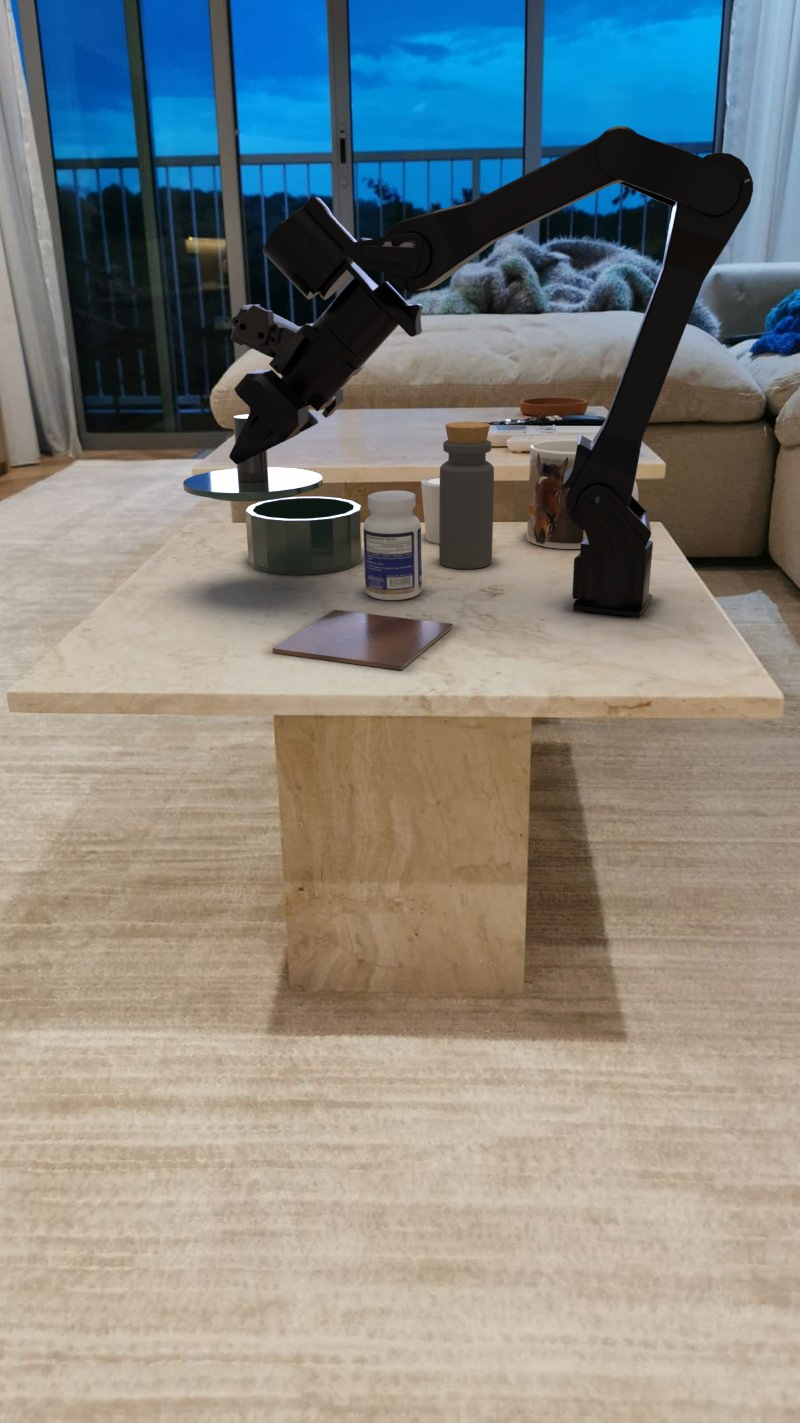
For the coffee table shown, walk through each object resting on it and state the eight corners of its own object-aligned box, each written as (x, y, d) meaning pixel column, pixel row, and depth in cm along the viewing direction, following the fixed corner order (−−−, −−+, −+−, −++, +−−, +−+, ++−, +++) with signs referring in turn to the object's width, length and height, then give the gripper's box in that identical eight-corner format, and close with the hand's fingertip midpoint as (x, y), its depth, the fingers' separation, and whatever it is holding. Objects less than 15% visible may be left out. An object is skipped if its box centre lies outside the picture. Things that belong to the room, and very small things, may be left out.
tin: (379, 551, 124) (378, 501, 122) (331, 579, 113) (329, 524, 111) (283, 542, 129) (281, 493, 126) (228, 568, 118) (224, 515, 116)
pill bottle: (384, 582, 112) (382, 487, 108) (432, 590, 109) (432, 492, 105) (354, 596, 107) (351, 497, 104) (403, 604, 105) (402, 502, 101)
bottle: (493, 569, 116) (496, 427, 111) (439, 569, 117) (440, 428, 111) (490, 555, 122) (493, 420, 116) (438, 556, 122) (439, 420, 116)
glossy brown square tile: (452, 627, 98) (452, 623, 98) (401, 670, 88) (401, 666, 87) (334, 613, 102) (334, 609, 102) (272, 652, 92) (272, 648, 92)
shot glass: (474, 531, 133) (474, 474, 130) (481, 544, 127) (482, 485, 124) (418, 532, 133) (418, 475, 130) (423, 546, 126) (423, 486, 124)
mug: (593, 527, 134) (599, 437, 130) (637, 550, 123) (645, 452, 119) (514, 533, 132) (517, 441, 127) (552, 557, 121) (557, 457, 117)
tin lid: (329, 478, 112) (326, 406, 109) (315, 505, 99) (311, 425, 96) (200, 479, 112) (194, 408, 109) (169, 506, 100) (161, 426, 97)
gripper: (307, 270, 106) (209, 386, 112) (250, 272, 89) (138, 408, 95) (387, 354, 107) (287, 464, 114) (346, 371, 91) (231, 499, 97)
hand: (238, 457), depth 105 cm, fingers closed on tin lid, 3 cm apart
